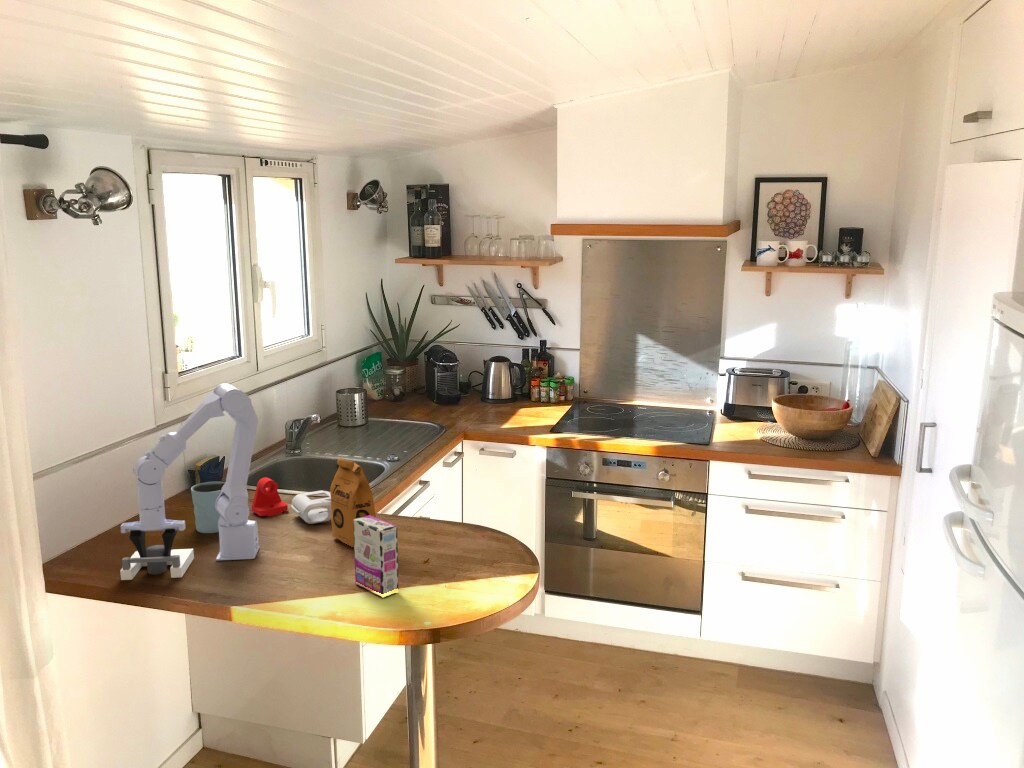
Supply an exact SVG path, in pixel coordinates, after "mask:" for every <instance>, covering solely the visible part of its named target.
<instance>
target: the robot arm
mask: <svg viewBox="0 0 1024 768" xmlns="http://www.w3.org/2000/svg"><path fill="white" fill-rule="evenodd" d="M224 412H226V413H227V414H228V415H229V417H230V418H231V419H232V421H234V422H235V425H234V426H235V427H234V432H233V437H232V438H233V439H232V443H231V444H232V445H231V448H230V449H231V450H230V456H229V461H228V466H227V473H226V478H225V484H224V485H223V487H222V489H221V493H220V495H219V497H218V498H217V500H216V502H215V508H216V510H217V512H218V513H219V514H220V518H219V520H218V527H219V532H218V538H219V552H218V554H217V556H216V559H215V560H216V561H232V560H233V561H235V560H239V561H240V560H253V559H255V558H256V556H257V554H258V552H259V549H260V544H259V543H260V542H259V527H258V521H257V520H251V519H249V516H250V510H251V509H250V507H249V504H248V503H249V493H248V489H247V486H248V480H249V473H250V470H251V469H250V468H251V462H252V458H253V457H252V456H253V451H254V446H255V445H254V444H255V440H256V433H257V428H258V421H259V417H258V415H257V413H256V410H255V409H254V407H253V404H252V399H251V398H250V397H249V396H248V395H247V394H246V393H245V392H244V391H243V390H242V389H238V388H237V387H235V386H234V385H233V384H231V383H220V384H218V385H217V386H216V387H215V388H214V390H213V391H210V393H208V394H207V395H206V396H205V398H204V399H203V400H202V401H201V403H200V404H199V405H198V406H197V407H196V408H195V409H194V410H193V412H192V413H191V414H190V415H189V416H188V418H187V419H186V420H185V421H184V422H182V424H181V425H180V427H179V428H178V429H177V430H175V431H173V432H167V433H166V434H164V435H163V434H161V435H160V436H159V437H158V440H159V441H158V442H157V443H156V444H155V445H154V446H153V447H152V448H151V449H150V450H149V451H147V450H146V451H145V452H144V456H141V457H139V458H138V459H137V460H136V461H135V463H134V466H133V468H132V471H133V474H134V475H135V476H136V477H137V478H136V481H137V482H136V486H137V503H138V513H139V515H138V516H139V521H138V520H137V521H131V522H130V521H129V522H123V523H121V525H120V533H121V534H126V533H129V536H128V539H129V541H131V543H132V544H133V545H134V547H135V548H136V551H138V553H139V555H140V558H146V557H147V555H146V549H147V547H146V532H156V531H157V532H161V531H163V533H162V535H161V538H162V541H163V545H164V548H165V557H169V556H171V550H172V547H173V544H174V541H175V538H176V535H177V533H178V531H179V532H180V531H181V532H182V531H184V530H186V520H177V519H176V520H175V519H167V518H166V510H165V508H166V507H165V499H164V498H165V496H164V495H165V494H164V487H163V481H162V480H163V478H164V476H165V470H166V469H168V468H169V467H170V466H171V465H172V464H173V462H175V460H176V459H178V457H179V456H180V455H182V453H183V452H185V450H186V449H187V441H188V440H189V439H190V438H191V437H192V436H193V435H194V434H195V433H196V432H197V431H199V430H200V429H201V428H202V427H203V426H204V425H205V424H206V423H207V422H208V421H209V420H211V419H213V418H219V417H224V416H225V415H226V414H225V413H224Z"/></svg>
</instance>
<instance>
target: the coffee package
mask: <svg viewBox="0 0 1024 768" xmlns="http://www.w3.org/2000/svg"><path fill="white" fill-rule="evenodd" d="M336 464H337V465H338V468H337V471H336V472H335V475H334V478H333V480H332V482H331V485H330V487H329V488H330V489H329V492H330V495H331V500H330V501H331V520H330V521H331V531H332V534H331V535H332V537H334V538H335V539H336V540H338V541H341V542H342V543H343V544H344V543H345V544H344V545H346V544H347V545H346V546H348V545H349V547H350V546H351V547H350V548H352V547H354V519H357V518H360V517H364V516H368V515H371V516H373V517H376V518H377V514H376V508H375V502H374V497H373V491H372V489H371V485H370V484H369V481H368V480H367V476H366V475H365V473H364V470H363V468H362V466H360V465H359V464H357V463H356V462H355V461H351V460H348V459H344V458H339V459H337V461H336Z"/></svg>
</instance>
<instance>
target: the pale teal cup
mask: <svg viewBox="0 0 1024 768" xmlns="http://www.w3.org/2000/svg"><path fill="white" fill-rule="evenodd" d="M225 483H226V481H225V482H223V481H206V482H200V483H197V484H195V485H193V486H191V488H190V492H191V493H190V494H191V499H192V504H193V513H194V517H195V528H196V531H197V532H198V533H201V534H215V533H219V527H218V520H219V518H220V514H219V513H218V512H217V510H216V508H215V502H216V500H217V498H218V497H219V495H220V493H221V489H222V487H223V485H224V484H225Z"/></svg>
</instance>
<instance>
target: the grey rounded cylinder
mask: <svg viewBox="0 0 1024 768" xmlns="http://www.w3.org/2000/svg"><path fill="white" fill-rule="evenodd" d="M146 555H147V557H165V548H164V544H155V545H151V546H148V547H146ZM146 568H147V573H148V574H149V575H160V574H161V575H162V574H163V573H166V572H167V571H168V565H167V562H147V566H146Z"/></svg>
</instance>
